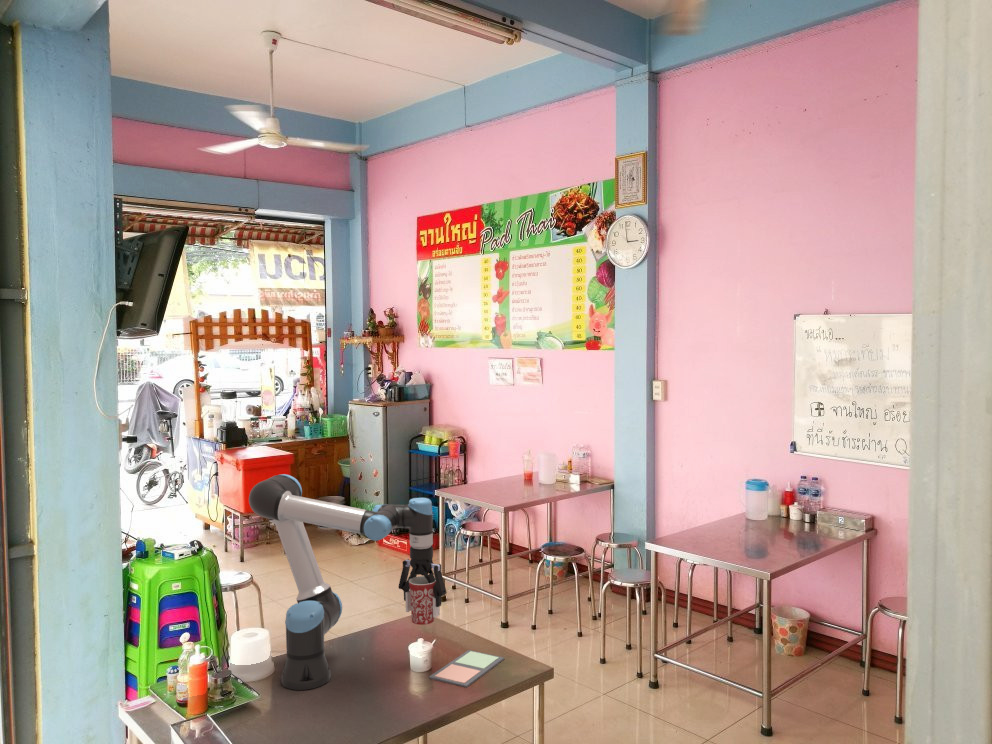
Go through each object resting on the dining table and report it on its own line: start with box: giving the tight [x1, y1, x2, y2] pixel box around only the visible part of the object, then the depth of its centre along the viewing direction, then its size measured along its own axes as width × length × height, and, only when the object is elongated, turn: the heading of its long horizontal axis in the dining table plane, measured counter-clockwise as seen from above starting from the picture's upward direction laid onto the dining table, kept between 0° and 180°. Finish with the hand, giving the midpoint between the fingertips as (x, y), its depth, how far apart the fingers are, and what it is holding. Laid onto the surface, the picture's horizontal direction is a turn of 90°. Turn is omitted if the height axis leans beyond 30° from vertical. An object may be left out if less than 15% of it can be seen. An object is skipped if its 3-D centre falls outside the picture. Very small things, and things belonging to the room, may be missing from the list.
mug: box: [409, 575, 436, 626], centre depth 252 cm, size 13×9×14 cm
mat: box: [428, 649, 505, 689], centre depth 250 cm, size 14×24×1 cm, turn 151°
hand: (422, 613), depth 252 cm, fingers closed on mug, 10 cm apart
